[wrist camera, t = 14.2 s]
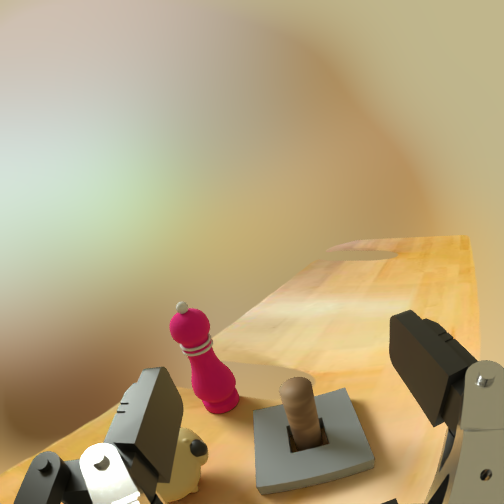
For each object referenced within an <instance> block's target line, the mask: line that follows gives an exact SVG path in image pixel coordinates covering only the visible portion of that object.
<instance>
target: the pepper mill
mask: <svg viewBox="0 0 504 504" xmlns="http://www.w3.org/2000/svg"><path fill="white" fill-rule="evenodd" d="M176 310H177V311H178V313H176V314H175V315H174V316H173V318H172V319H171V321H170V332H171V335H172V337H173V339H174V340H175V341H176V342H178V343H180V348H181V349H182V352H183V354H184V355H186V356H188V358H189V360H190V363H191V368H192V387H193V390H194V393H195V395H196V396H197V397H198V398H200V399H201V400H202V402H203V404H204V406H205V408H206V409H207V410H208V411H209V412H211V413H215V414H220V413H225V412H228V411H230V410H231V409H233V408H234V407H235V406H236V405H237V403H238V401H239V394H238V392H237V390H236V388H235V385H236V381H235V377H234V375H233V373H232V372H231V371H230V369H229V368H228V367H227V366H225V365H224V364H223V363H222V362H221V361H220V360H219V359H218V358H217V356H216V355H215V353H214V351H213V348H212V345H213V340H212V339H211V335H210V334H209V330H210V324H209V320H208V318H207V317H206V315H205V314H204V313H203V312H202V311H200V310H198V309H191V308H189V309H188V305H187V304H186V303H185V302H179V303H178V304H177V305H176Z"/></svg>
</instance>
